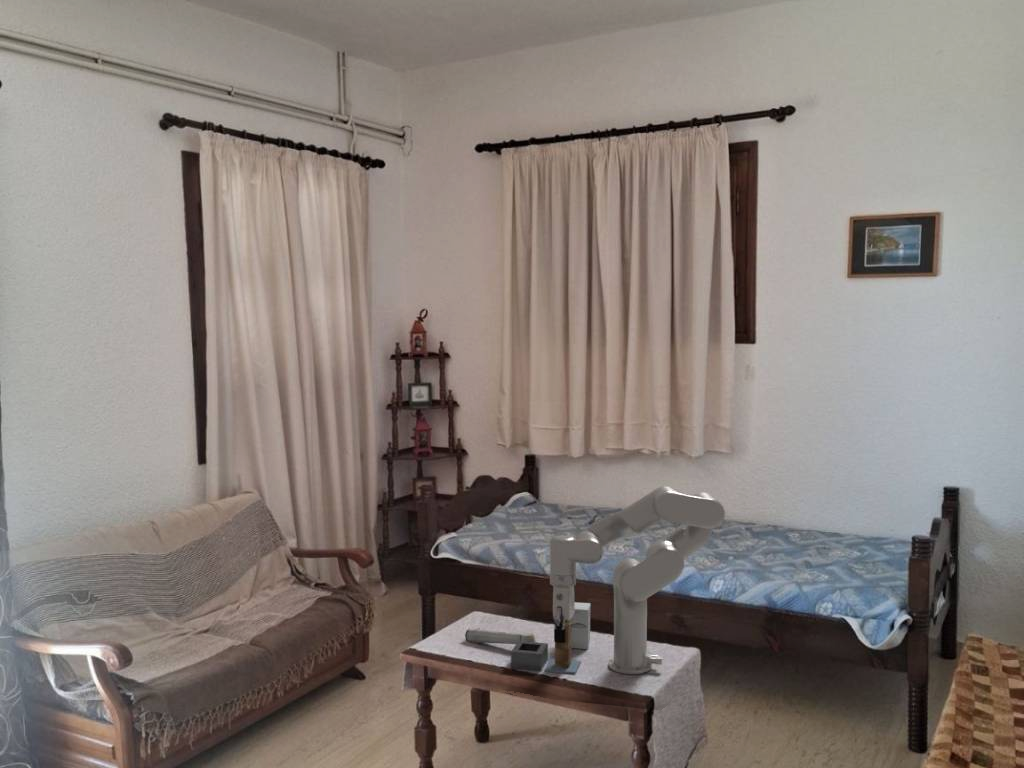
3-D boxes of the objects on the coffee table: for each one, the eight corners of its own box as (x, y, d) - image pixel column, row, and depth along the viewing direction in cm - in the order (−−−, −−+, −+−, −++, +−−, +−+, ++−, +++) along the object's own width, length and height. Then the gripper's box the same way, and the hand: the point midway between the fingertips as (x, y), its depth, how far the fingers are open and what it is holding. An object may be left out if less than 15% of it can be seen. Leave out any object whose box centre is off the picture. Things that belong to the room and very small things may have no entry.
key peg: (572, 662, 257) (572, 618, 256) (569, 668, 252) (569, 624, 251) (556, 661, 258) (556, 617, 257) (553, 667, 253) (553, 622, 253)
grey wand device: (472, 626, 280) (540, 628, 267) (474, 647, 280) (542, 650, 267) (463, 631, 275) (531, 633, 263) (465, 652, 275) (534, 656, 263)
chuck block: (547, 659, 261) (547, 643, 261) (541, 671, 252) (541, 654, 252) (518, 657, 263) (518, 640, 263) (511, 668, 254) (511, 651, 254)
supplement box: (564, 648, 270) (564, 608, 270) (567, 640, 278) (567, 601, 277) (588, 650, 269) (588, 609, 268) (590, 641, 276) (590, 602, 276)
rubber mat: (580, 662, 258) (580, 660, 258) (575, 674, 250) (575, 672, 250) (551, 660, 261) (551, 658, 261) (544, 671, 252) (544, 669, 252)
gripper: (570, 588, 244) (570, 648, 245) (580, 571, 261) (580, 628, 262) (544, 586, 246) (544, 646, 247) (556, 570, 263) (556, 626, 264)
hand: (562, 636), depth 255 cm, fingers open, 9 cm apart
